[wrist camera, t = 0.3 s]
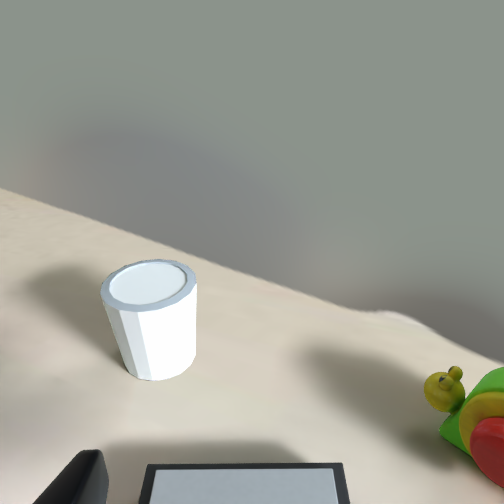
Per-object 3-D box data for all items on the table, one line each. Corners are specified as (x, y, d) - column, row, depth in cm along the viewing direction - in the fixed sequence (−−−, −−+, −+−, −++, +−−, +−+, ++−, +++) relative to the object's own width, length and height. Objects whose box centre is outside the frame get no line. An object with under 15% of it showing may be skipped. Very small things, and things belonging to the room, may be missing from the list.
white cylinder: (146, 402, 32) (131, 324, 28) (100, 354, 36) (82, 281, 32) (220, 354, 36) (215, 281, 32) (171, 317, 40) (162, 248, 36)
